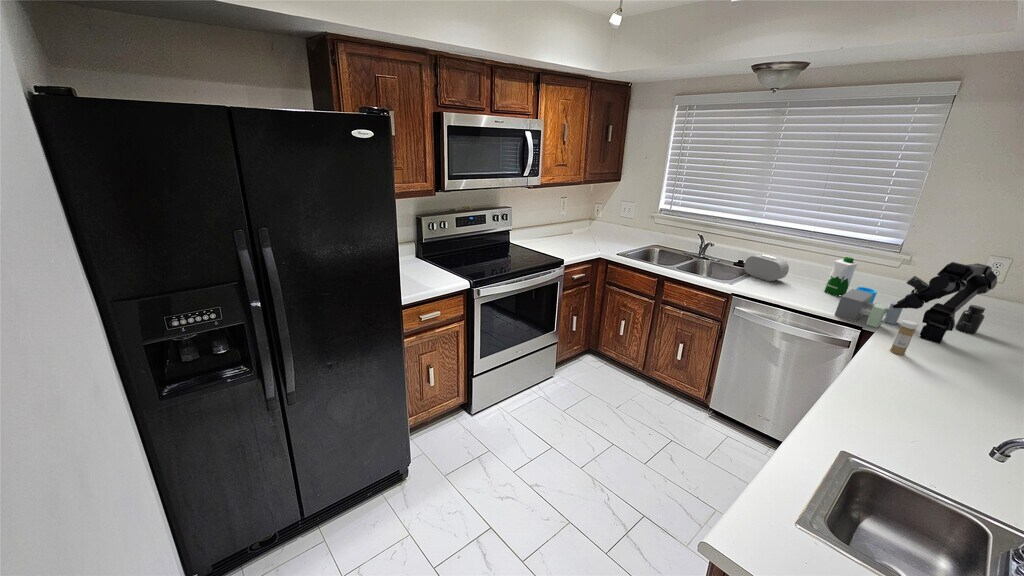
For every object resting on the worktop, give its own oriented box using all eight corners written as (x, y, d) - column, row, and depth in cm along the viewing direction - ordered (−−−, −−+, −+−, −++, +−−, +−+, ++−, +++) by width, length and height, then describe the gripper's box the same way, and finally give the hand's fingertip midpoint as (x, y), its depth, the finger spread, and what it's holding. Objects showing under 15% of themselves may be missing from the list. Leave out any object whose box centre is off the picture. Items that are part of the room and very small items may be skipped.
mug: (871, 309, 206) (877, 294, 203) (851, 304, 210) (857, 290, 208) (870, 302, 215) (875, 287, 212) (850, 298, 220) (856, 283, 217)
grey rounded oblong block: (785, 282, 239) (792, 260, 234) (776, 284, 234) (783, 262, 230) (750, 271, 255) (756, 250, 251) (742, 273, 251) (747, 252, 246)
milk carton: (847, 295, 223) (861, 260, 216) (838, 297, 220) (851, 261, 212) (830, 289, 231) (842, 255, 223) (821, 291, 227) (833, 256, 220)
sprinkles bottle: (906, 353, 163) (919, 323, 158) (902, 356, 161) (916, 325, 156) (891, 348, 167) (904, 318, 162) (887, 351, 164) (900, 321, 159)
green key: (879, 324, 188) (887, 306, 184) (876, 327, 185) (884, 309, 182) (843, 313, 198) (849, 296, 195) (839, 316, 195) (846, 298, 192)
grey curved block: (865, 312, 201) (873, 293, 197) (854, 321, 190) (862, 301, 187) (845, 307, 207) (852, 288, 203) (834, 315, 196) (841, 296, 192)
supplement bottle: (958, 331, 185) (970, 307, 181) (951, 326, 191) (963, 302, 187) (979, 335, 182) (991, 311, 178) (971, 330, 188) (984, 306, 184)
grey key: (897, 321, 192) (904, 304, 189) (894, 324, 189) (902, 306, 186) (855, 309, 203) (861, 293, 200) (852, 312, 201) (858, 295, 197)
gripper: (931, 269, 176) (889, 285, 188) (922, 276, 165) (877, 293, 177) (949, 291, 173) (904, 306, 185) (941, 301, 162) (894, 316, 174)
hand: (895, 305), depth 180 cm, fingers open, 8 cm apart
